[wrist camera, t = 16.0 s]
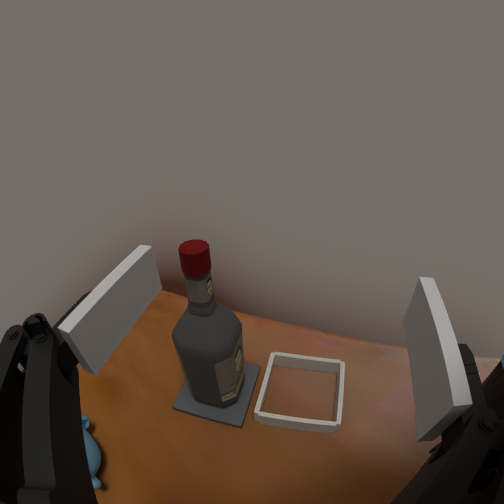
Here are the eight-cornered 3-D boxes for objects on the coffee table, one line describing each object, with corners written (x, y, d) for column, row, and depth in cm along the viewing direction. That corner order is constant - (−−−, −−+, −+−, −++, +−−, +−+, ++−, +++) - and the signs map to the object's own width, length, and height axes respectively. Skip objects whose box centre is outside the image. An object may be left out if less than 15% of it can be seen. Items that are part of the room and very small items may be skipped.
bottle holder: (341, 370, 51) (344, 360, 50) (335, 433, 39) (340, 426, 37) (270, 361, 55) (271, 350, 53) (253, 422, 42) (253, 414, 41)
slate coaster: (260, 368, 53) (260, 365, 52) (241, 428, 41) (241, 426, 41) (199, 355, 56) (199, 352, 55) (173, 409, 44) (172, 406, 44)
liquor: (186, 399, 45) (141, 262, 30) (203, 363, 53) (177, 226, 38) (234, 412, 43) (216, 273, 28) (247, 373, 51) (241, 233, 36)
